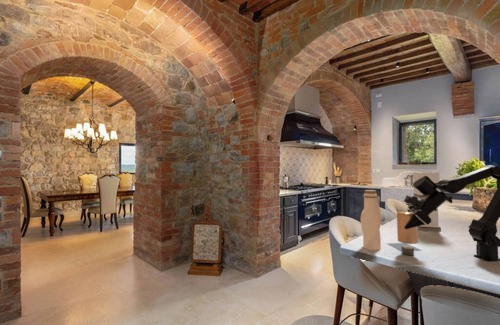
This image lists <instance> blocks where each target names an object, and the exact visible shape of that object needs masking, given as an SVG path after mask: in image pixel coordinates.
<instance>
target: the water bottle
mask: <svg viewBox="0 0 500 325" xmlns="http://www.w3.org/2000/svg"><path fill="white" fill-rule="evenodd" d="M361 196H362V198H363V209H362V211H361V214H360V226H361V231H362V238H363V239H362V241H363V243H362V244H363V246H362V248H364V249H365V250H367V251H380V250H381V249H382V242H381V240H382V239H381V231H380V230H381V229H380V228H381V224H382V212H381V208H380V198H381V197H380V196H381V195H378V194H377V190H376V189H375V190H374V189H366V190H364V193H363V195H361Z"/></svg>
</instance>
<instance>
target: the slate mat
mask: <svg viewBox="0 0 500 325" xmlns="http://www.w3.org/2000/svg"><path fill="white" fill-rule="evenodd" d="M387 245H388V246H389V247H392V248H395V249H396V250H398V251H400V252H401V247H402V246H410V247H413V248H414V252H420V251H421V252H422V251H423V250H422V249H420V248H418V247H415V246H413V245H412V244H406V243H401V242H395V243H394V242H393V243H392V242H391V243H387Z"/></svg>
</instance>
